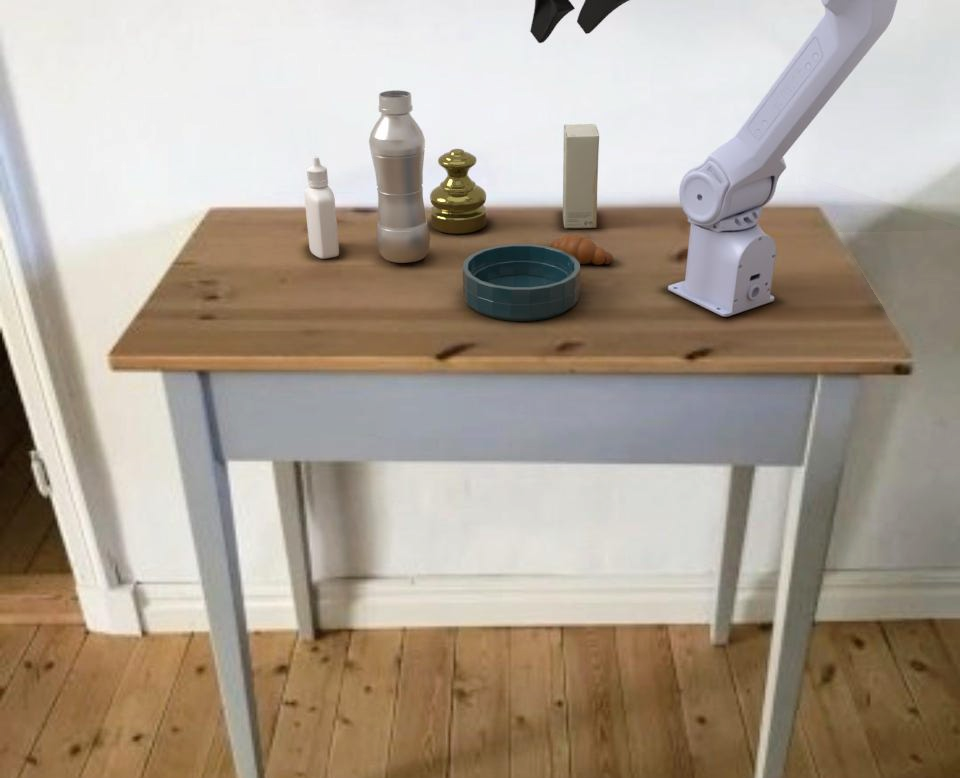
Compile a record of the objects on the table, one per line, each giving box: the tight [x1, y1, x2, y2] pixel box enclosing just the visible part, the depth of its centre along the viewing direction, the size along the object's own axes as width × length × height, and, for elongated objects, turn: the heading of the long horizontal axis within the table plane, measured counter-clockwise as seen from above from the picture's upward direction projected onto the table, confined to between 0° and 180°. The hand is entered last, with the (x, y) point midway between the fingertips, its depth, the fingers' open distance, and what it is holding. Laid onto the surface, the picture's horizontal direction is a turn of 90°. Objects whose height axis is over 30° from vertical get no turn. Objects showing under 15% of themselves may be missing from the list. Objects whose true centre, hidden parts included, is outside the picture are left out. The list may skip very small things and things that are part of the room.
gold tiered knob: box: [429, 148, 487, 235], centre depth 140 cm, size 7×7×10 cm
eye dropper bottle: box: [304, 156, 340, 260], centre depth 132 cm, size 4×6×12 cm
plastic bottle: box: [368, 89, 431, 264], centre depth 128 cm, size 6×7×20 cm
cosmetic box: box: [562, 123, 600, 229], centre depth 140 cm, size 6×4×12 cm
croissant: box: [550, 233, 614, 266], centre depth 131 cm, size 4×8×3 cm, turn 56°
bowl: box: [462, 243, 581, 322], centre depth 122 cm, size 13×13×4 cm
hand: (560, 32), depth 127 cm, fingers open, 7 cm apart
